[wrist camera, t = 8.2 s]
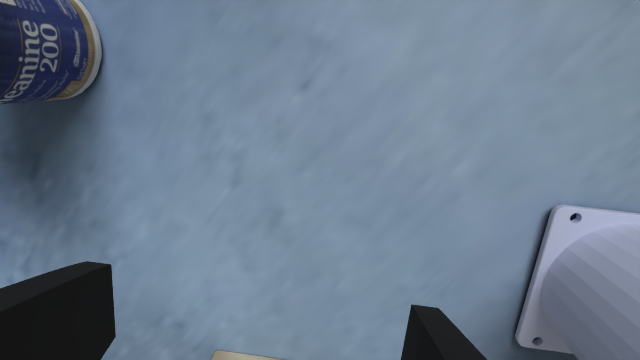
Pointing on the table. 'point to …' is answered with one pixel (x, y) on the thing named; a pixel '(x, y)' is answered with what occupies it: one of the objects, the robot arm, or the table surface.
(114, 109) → the table surface
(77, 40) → the pill bottle
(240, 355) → the birch plinth
